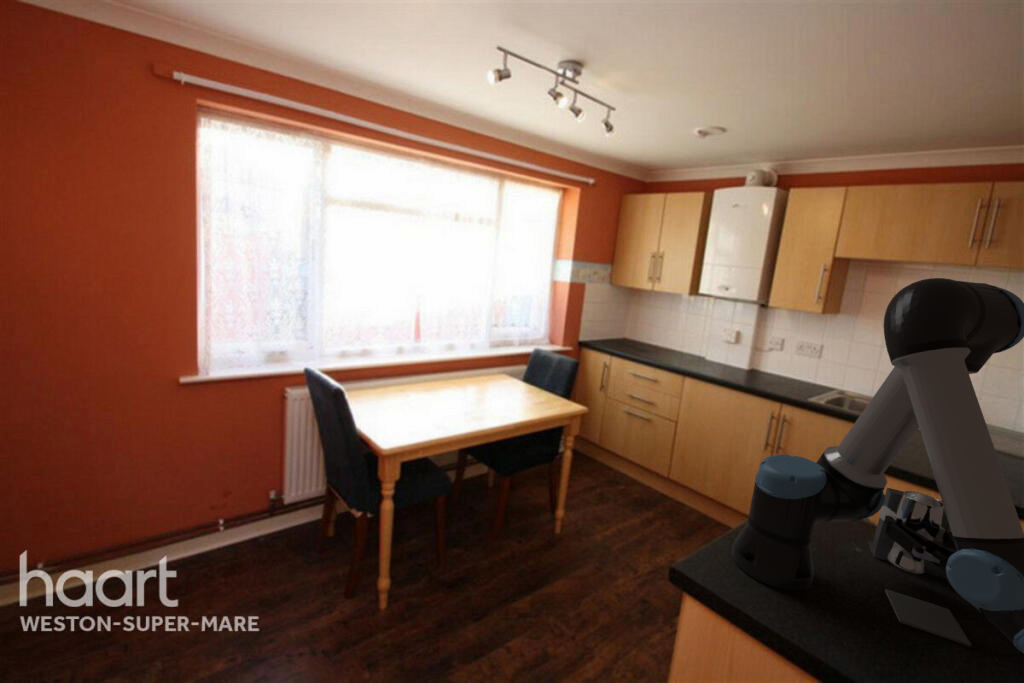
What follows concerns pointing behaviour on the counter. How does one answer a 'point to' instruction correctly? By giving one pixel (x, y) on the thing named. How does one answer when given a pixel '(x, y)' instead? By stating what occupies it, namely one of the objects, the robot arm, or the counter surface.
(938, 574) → the label panel
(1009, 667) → the counter surface
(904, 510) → the beer glass
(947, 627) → the rubber mat
